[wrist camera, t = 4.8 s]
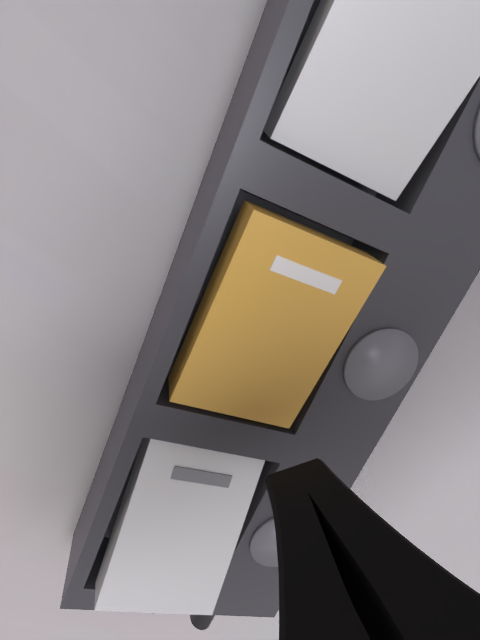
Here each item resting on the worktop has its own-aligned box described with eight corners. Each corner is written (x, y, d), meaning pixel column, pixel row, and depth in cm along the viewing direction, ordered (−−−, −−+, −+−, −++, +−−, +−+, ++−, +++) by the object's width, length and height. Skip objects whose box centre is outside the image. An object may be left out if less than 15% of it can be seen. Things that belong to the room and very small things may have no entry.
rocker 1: (254, 443, 18) (266, 458, 16) (204, 588, 18) (212, 616, 17) (148, 421, 16) (151, 436, 15) (95, 582, 16) (94, 612, 15)
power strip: (544, 17, 15) (658, -22, 12) (229, 601, 24) (243, 674, 21) (327, -164, 12) (400, -290, 8) (52, 592, 21) (34, 677, 17)
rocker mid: (366, 252, 14) (387, 266, 13) (279, 405, 17) (289, 430, 15) (244, 199, 12) (254, 210, 11) (168, 377, 15) (169, 402, 14)
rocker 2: (527, -45, 11) (568, -55, 10) (378, 187, 14) (396, 201, 13) (394, -164, 10) (425, -193, 8) (262, 129, 13) (270, 138, 12)
